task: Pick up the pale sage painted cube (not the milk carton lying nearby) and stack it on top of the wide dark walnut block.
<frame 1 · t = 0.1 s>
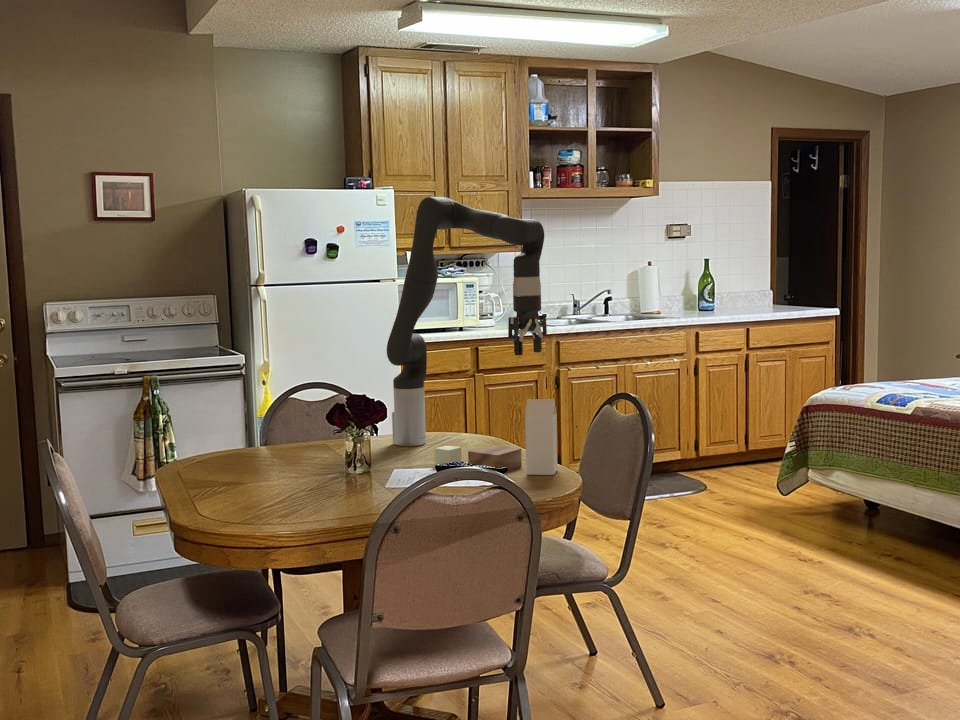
hand: (528, 353, 272), 29 cm above the table, fingers open, 8 cm apart
sage cube: (448, 466, 270), on the table
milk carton: (542, 473, 258), on the table
walnut block: (495, 468, 266), on the table
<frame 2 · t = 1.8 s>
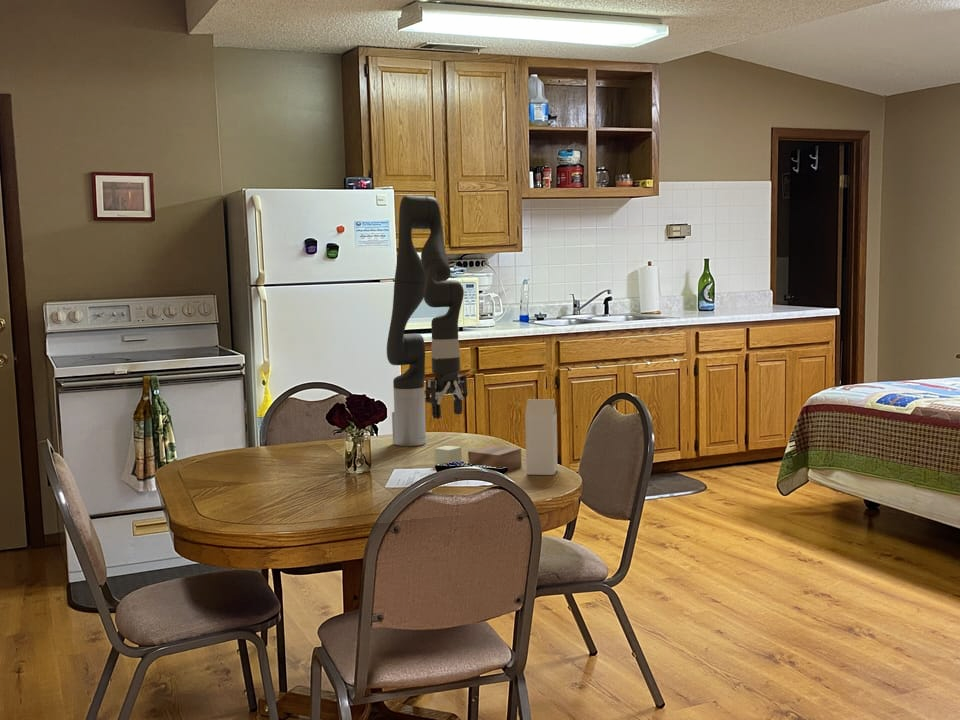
hand: (447, 416, 268), 13 cm above the table, fingers open, 8 cm apart
nothing on the table moved.
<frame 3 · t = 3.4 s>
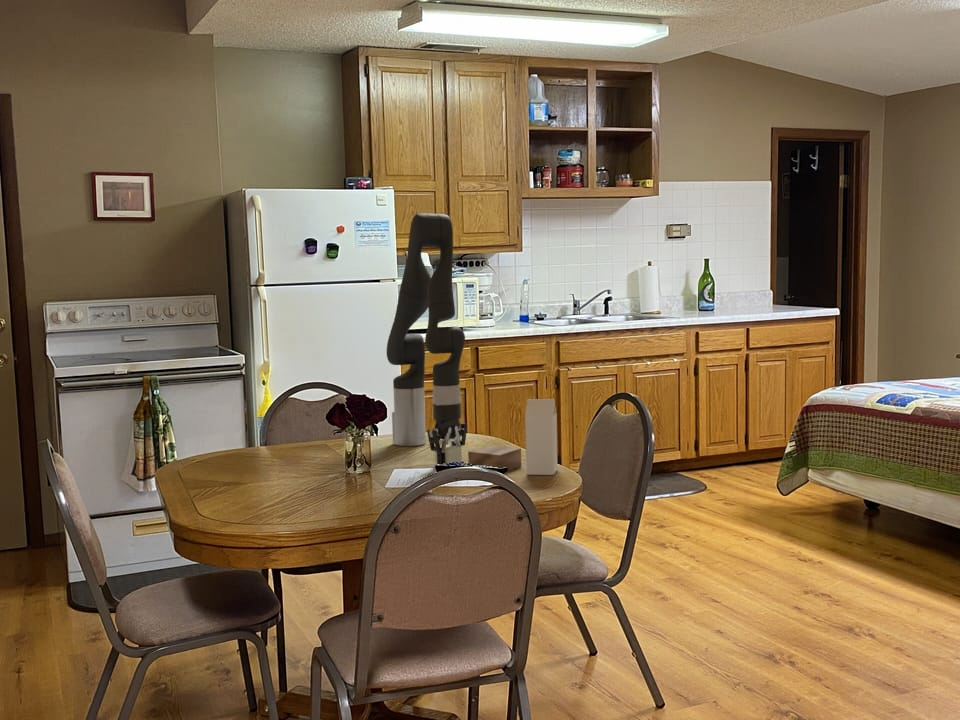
hand: (448, 463, 270), 0 cm above the table, fingers closed on sage cube, 5 cm apart
sage cube: (448, 465, 270), on the table, touching gripper
everything else where it was.
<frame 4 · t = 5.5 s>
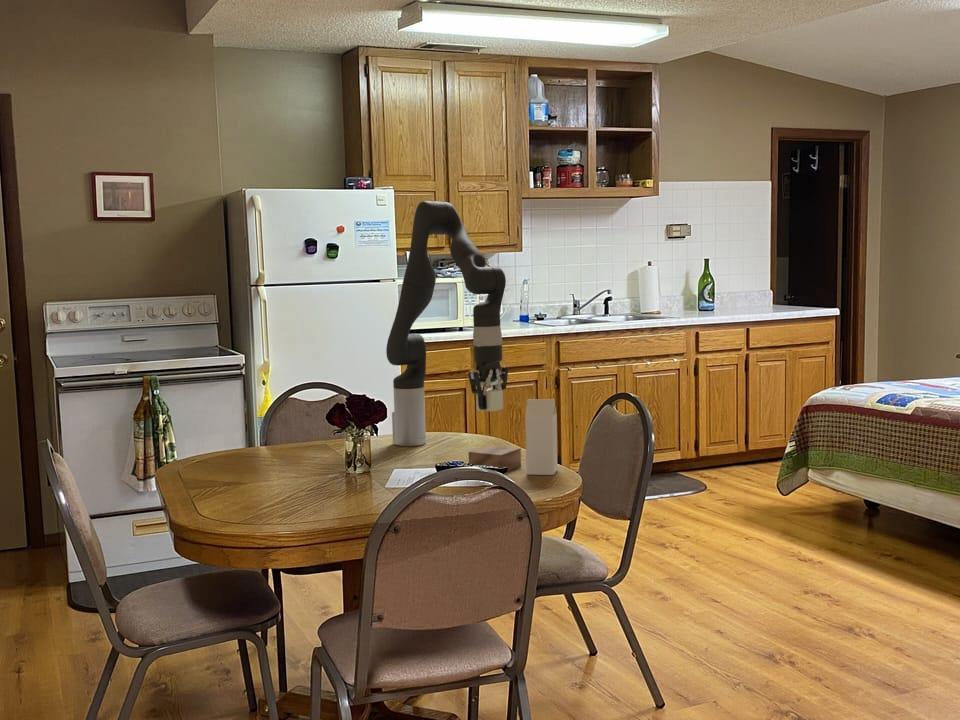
hand: (489, 407, 264), 16 cm above the table, fingers closed on sage cube, 5 cm apart
sage cube: (489, 409, 264), point 16 cm above the table, touching gripper
everything else where it was.
when the fingers open (7 cm above the table, at t = 7.6 s): sage cube drops 2 cm, point 5 cm above the table.
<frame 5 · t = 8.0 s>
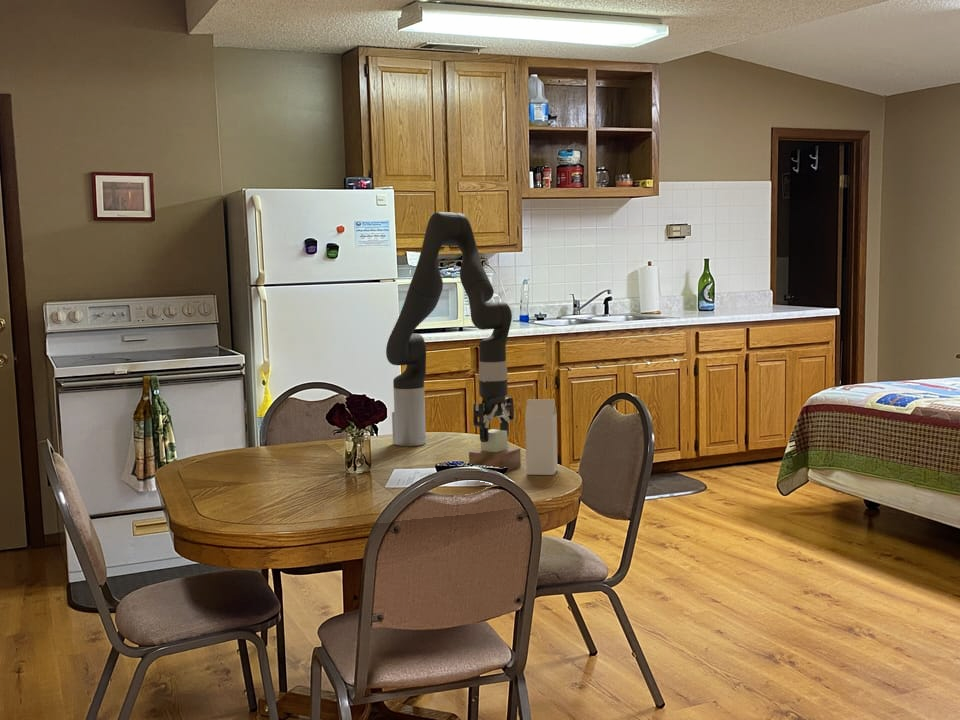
hand: (494, 439, 265), 8 cm above the table, fingers open, 8 cm apart
sage cube: (494, 449, 265), point 5 cm above the table
everything else where it was.
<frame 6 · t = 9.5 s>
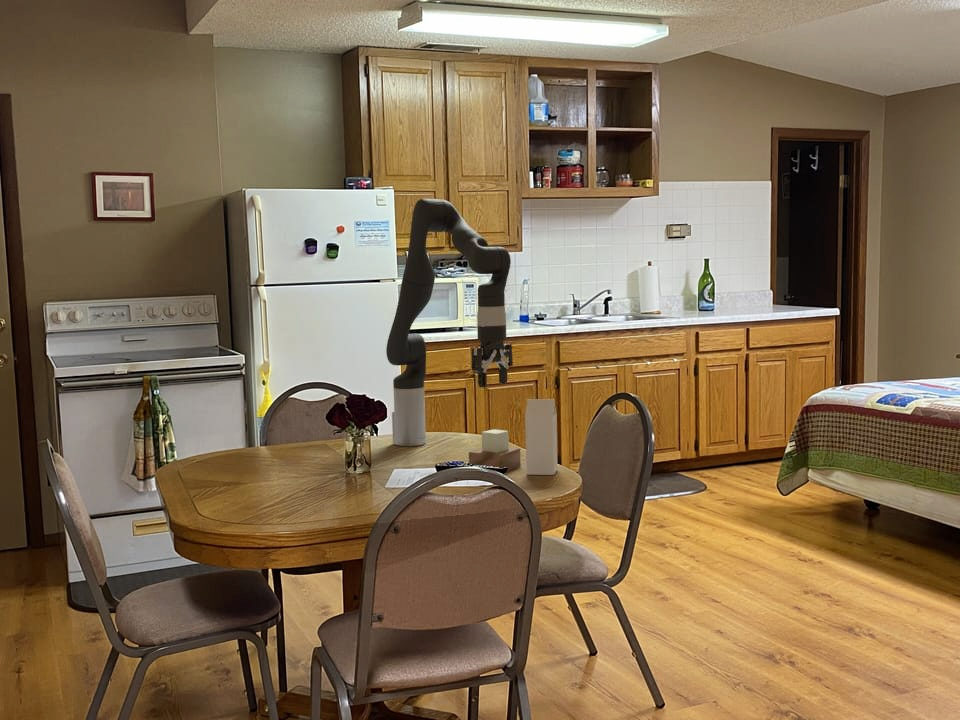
hand: (492, 385, 264), 22 cm above the table, fingers open, 8 cm apart
nothing on the table moved.
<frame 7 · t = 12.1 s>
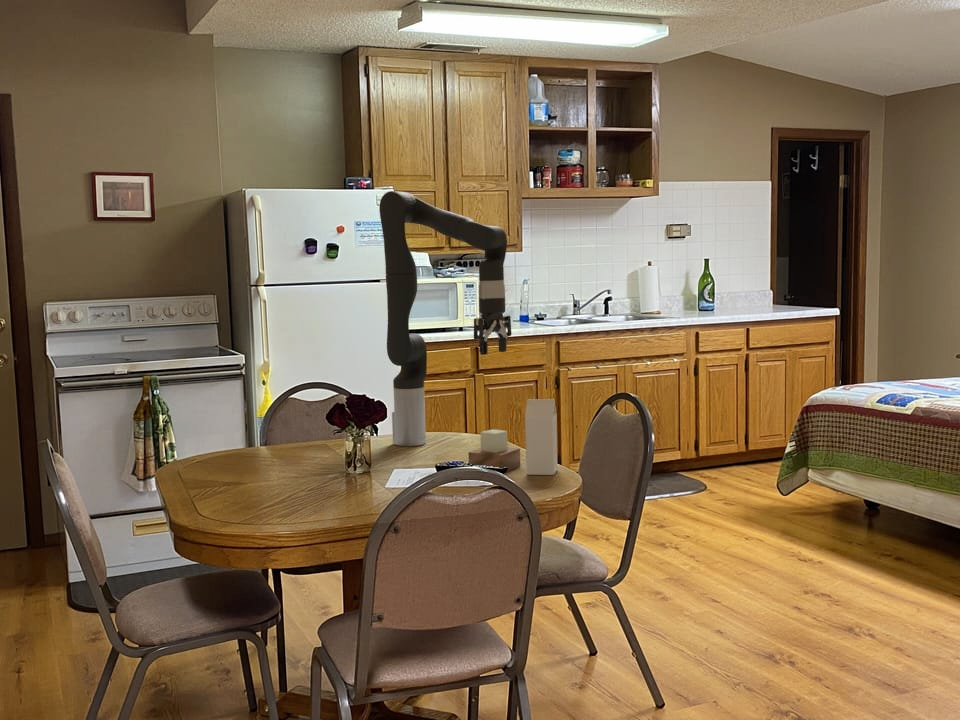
hand: (493, 353, 287), 28 cm above the table, fingers open, 8 cm apart
sage cube: (494, 450, 265), point 5 cm above the table, touching walnut block
walnut block: (494, 469, 266), on the table, touching sage cube
everything else where it was.
at the end: sage cube inside the target area on the walnut block (0.1 cm from its centre), point 5.0 cm above the walnut block's base; sage cube touching walnut block; the gripper is holding nothing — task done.
